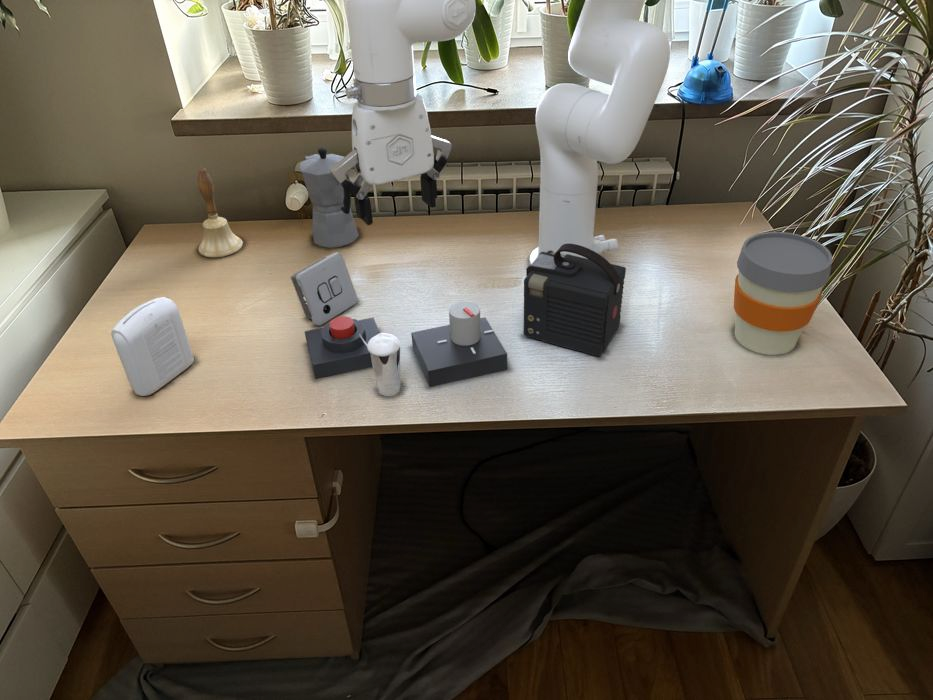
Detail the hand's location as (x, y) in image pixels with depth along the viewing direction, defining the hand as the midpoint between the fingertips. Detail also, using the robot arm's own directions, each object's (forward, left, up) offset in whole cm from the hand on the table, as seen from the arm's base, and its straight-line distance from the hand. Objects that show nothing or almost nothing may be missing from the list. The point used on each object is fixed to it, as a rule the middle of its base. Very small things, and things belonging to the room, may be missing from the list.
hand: (398, 212), depth 105 cm
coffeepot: (+5, -36, -22) cm, 43 cm away
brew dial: (-7, +7, -19) cm, 21 cm away
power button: (+10, +1, -18) cm, 21 cm away
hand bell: (+27, -41, -22) cm, 54 cm away
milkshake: (+6, +11, -22) cm, 26 cm away
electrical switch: (+11, -12, -22) cm, 28 cm away
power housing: (+10, +1, -22) cm, 24 cm away
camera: (-25, +7, -22) cm, 34 cm away
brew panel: (-6, +8, -22) cm, 24 cm away
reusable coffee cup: (-52, +19, -22) cm, 59 cm away
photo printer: (+37, -3, -22) cm, 44 cm away
